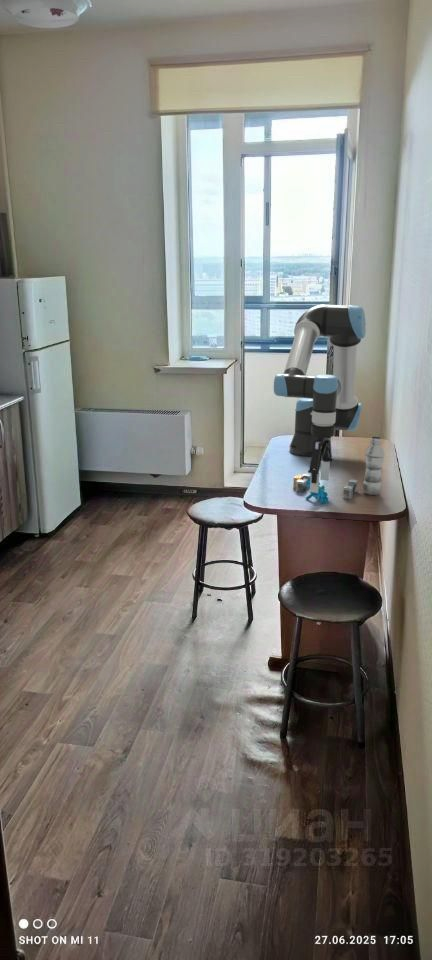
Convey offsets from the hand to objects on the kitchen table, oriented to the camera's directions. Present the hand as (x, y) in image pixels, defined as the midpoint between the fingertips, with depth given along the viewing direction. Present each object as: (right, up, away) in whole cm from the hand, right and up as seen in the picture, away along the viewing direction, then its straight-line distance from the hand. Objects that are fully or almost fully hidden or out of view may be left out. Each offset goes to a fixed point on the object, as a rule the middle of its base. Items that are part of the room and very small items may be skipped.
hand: (319, 485), depth 226 cm
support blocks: (+4, -2, +11) cm, 12 cm away
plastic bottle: (+19, -3, +9) cm, 22 cm away
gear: (-1, -5, +1) cm, 6 cm away
